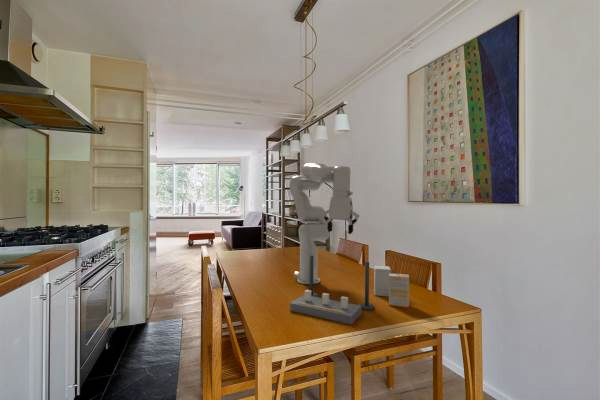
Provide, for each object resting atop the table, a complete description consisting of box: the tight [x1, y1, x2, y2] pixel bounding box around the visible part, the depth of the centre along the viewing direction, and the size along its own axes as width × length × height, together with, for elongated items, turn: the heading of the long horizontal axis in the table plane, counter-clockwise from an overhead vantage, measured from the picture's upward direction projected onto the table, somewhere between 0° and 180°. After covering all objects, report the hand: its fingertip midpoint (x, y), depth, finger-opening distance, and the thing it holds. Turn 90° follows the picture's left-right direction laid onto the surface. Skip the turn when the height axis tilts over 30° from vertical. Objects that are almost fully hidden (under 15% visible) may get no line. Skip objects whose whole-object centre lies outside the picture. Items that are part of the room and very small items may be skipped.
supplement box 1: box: [373, 265, 392, 297], centre depth 142 cm, size 7×7×13 cm
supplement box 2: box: [388, 272, 410, 309], centre depth 127 cm, size 8×5×13 cm, turn 71°
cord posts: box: [309, 256, 375, 311], centre depth 130 cm, size 32×6×19 cm, turn 61°
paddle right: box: [340, 295, 349, 309], centre depth 114 cm, size 2×2×4 cm
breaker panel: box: [289, 294, 363, 325], centre depth 118 cm, size 26×12×3 cm, turn 61°
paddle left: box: [304, 289, 311, 301], centre depth 122 cm, size 2×2×4 cm
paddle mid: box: [321, 292, 330, 305], centre depth 118 cm, size 2×2×4 cm
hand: (339, 232), depth 132 cm, fingers open, 9 cm apart
